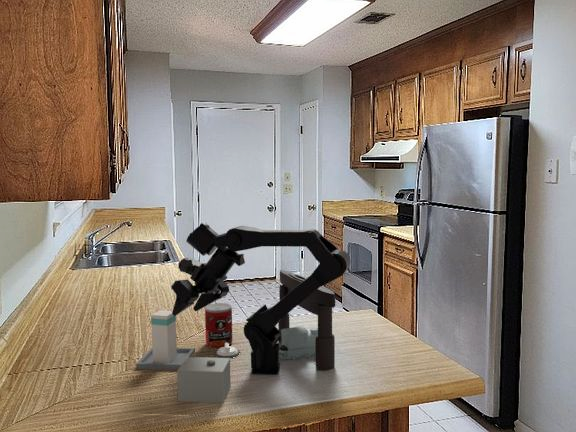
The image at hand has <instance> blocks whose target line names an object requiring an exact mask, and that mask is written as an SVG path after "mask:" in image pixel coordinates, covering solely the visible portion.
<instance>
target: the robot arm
mask: <svg viewBox="0 0 576 432" xmlns="http://www.w3.org/2000/svg"><path fill="white" fill-rule="evenodd" d="M186 243H188V244H189V245H190V246H191V247H192V248H193V249H195V251H197V253H199V255H201V256H202V257H203V256H206V255H208V256H210V258H209V259H208V261H207V262H204V263H203V262H201V261H199V260H198V259H194V258H191V257H189V258H188V257H183V258H182V259H180V261H179V262H178V263H177V265H178V270H179V272H181V273H186V274H187V275H189V278H190V279H191V281H192V282H194V285H193V283H192V282H191V281H190V280H189V279H180V280H175V281H174V282H173V283H172V285H170V289H172V290H173V292H174V294H175V301H174V305H173V308H172V310H171V311H172V314H173V315H174V316H176V317H177V316H178V315H179V314H182V312H184V311H185V310H187V309H188V308H189V307H192V306H193V305H194V306H193V311H194V312H198V311H199V310H201V309H203V308H205V307H206V306H207V305H210V304H214V303H216V302H217V301H218V300H220V299H222V298H224V297H226V296H227V295H228V294H229V292H230V286H229V285H228V284H227V283H226V282H225V281H227V279H228V276H227V275H228V273H229V271H230V270H231V269H232V267H233V266H234V265H235V264H236V265H237V266H238V267H240V266H243V265H245V264H246V261H245V258H244V257H245V254H244V253H238V252H241V251H246V250H247V251H248V250H250V249H256V248H261V247H297V248H298V247H300V248H302V247H304V248H305V247H306V248H307V250H309V251H310V253H311V255H312V256H313V257H314V258H315V260H316V261H317V262H318V266H316V268H315V269H314V271H312V273H311V274H310V275H309V276H308V277H306V278H307V279H305V280H304V281H303V282H302V283H301V284H299V285H298V286H297V287H296V288H295V289H293V290H292V291H291V292H290V293H289V294H287V295H286V296H285V297H284V298H283V299H281V300H279V301H278V302H276V303H275V304H274V305H273V306H270V307H268V306H267V305H266V304H263V305H262V306H261V307H260V308H258V309H257V310H256V311H255V312H253V313H252V314H251V315H250V316H249V317H247V318H246V319H245V321H246V323H245V324H244V326H243V335H244V337H245V338H246V340H247V341H248V344H249V346H250V349H251V352H250V368H251V369H252V370H251V373H252V374H253V375H255V374H256V375H257V374H260V375H262V374H263V375H265V374H266V375H277V374H279V372H280V368H281V362H280V358H279V353H280V350H279V347H280V342H279V340H280V338H281V335H282V333H281V332H280V331H279V330H278V328H277V327H276V326H278V322H279V321H280V320H281V319H282V318H283V317H284V316H285V315H286V314H288V313H289V314H290V312H292V311H293V310H294V309H295V308H296V307H298V305H299V304H300V303H301V302H302V301H303V300H305V299H306V298H307V297H308V296H310V295H311V294H312V293H313V292H314V291H316V290H317V289H318V288H319V287H321V286H325V285H327V284H330V283H331V282H333V281H335V280H337V279H338V278H340V277H342V276H343V275H344V274H345V273H346V272H347V271H348V269H350V267H351V262H352V261H351V257H350V254H348V252H346V251H345V250H343V249H339V248H338V247H337V246H336V245H335V244H334V243H332V242H331V241H329V240H328V239H327V238H326V237H324V236H323V235H322V234H321V233H320V232H319V231H318V230H317V229H314V228H313V229H312V228H310V229H290V230H289V229H285V230H284V229H283V230H282V229H281V230H279V229H278V230H277V229H275V230H273V229H272V230H271V229H270V230H269V229H267V230H265V229H261V228H257V227H253V226H248V225H239V226H235V227H232V228H229V229H228V230H227V231H226V233H225V232H224V233H221V234H218V233H217V232H216V231H215V230H214V229H213V228H211V227H210V225H209V224H208V223H207V222H201V223H200V224H199V225H198V226H197V227H196V228H195V229H194V230H193V231H192V232H190V233H189V235H188V236H187V238H186ZM195 302H196V303H195Z"/></svg>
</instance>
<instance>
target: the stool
mask: <svg viewBox="0 0 576 432" xmlns="http://www.w3.org/2000/svg"><path fill="white" fill-rule="evenodd" d="M307 278H308V277H305V276H303V275H301V274H298V273H295V272H294V273H293V272H292V271H289V270H285V269H280V270H279V282H280V283H281V284H280V285H278V287H279V288H278V289H279V290H278V291H279V301H280V300H281V299H283V298H284V297H285V296H286V295H287V294H289V293H290V292H291V291H292V290H293V289H295V288H296V287H297V286H298V285H299V284H301V283H302V282H303V281H304V280H305V279H307ZM297 307H300V308H301V309H303V310H305V311H307V312H309V313H312V314H314V315H316V316H317V327H311V328H310V332H309V331H308V330H307V328H306V327H305V326H303V325H302V326H301V325H300V326H295V327H290V312H289V313H288V314H286V315H285V316H284V317H283V318H282V319H281V320H280V321H279V322H278V324H277V327H278V328H277V329H278V330H279V331H280V332H281V333H282V335H281V338H280V340H279V341H278V343H280V342H281V343H280V345H279V351H281V352H279V360H280V359H281V360H290V359H292V361H294V360H297V359H298V358H302V357H304V358H310V356H313V355H315V369H317V370H318V371H323V370H324V371H325V370H330V369H333V368H335V362H336V361H335V360H336V359H335V355H336V354H335V353H336V352H335V347H336V346H335V345H336V344H335V342H336V340H335V335H334V334H333V309H334V308H335V307H336V294H335V292H334V291H333V290H331V289H330V288H328V287H326V286H325V285H323V286H321V287H319V288H318V289H317V290H316V291H314V292H313V293H312V294H311V295H310V296H308V297H307V298H306V299H305V300H303V301H302V302H301V303H300V304H299V305H297Z"/></svg>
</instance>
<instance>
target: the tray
mask: <svg viewBox="0 0 576 432" xmlns="http://www.w3.org/2000/svg"><path fill="white" fill-rule="evenodd" d="M194 353H196V348H195V347H177V358H175V359H174V360H173V361H171V362H170V363H159V362H153V350H152V347H151V348H150V349H149V350H148V351H147V352H146V353H144V355H143V356H142V357H141V358H140V359H139V360H138V361H137V362H136V363H135V369H136V370H157V371H158V370H159V371H160V370H163V371H164V370H165V371H166V370H167V371H168V370H170V371H177V370H178V369H179V368H180V366H181V365H182V364H183V362H184V361H185V360H186V358H187V357H193V356H194V355H195V354H194Z"/></svg>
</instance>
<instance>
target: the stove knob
mask: <svg viewBox="0 0 576 432" xmlns="http://www.w3.org/2000/svg"><path fill="white" fill-rule="evenodd" d="M239 353H241V351H240V350H239V349H237V348H236V347H234V346H231V345H230V346H229V343H225V347H222V348H217V350H215V351H214V353H213V355H214V357H216V356H217V357H216V358H232V359H234V358H233V357H236V356H238V355H239ZM238 357H239V356H238ZM236 358H237V357H236Z"/></svg>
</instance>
